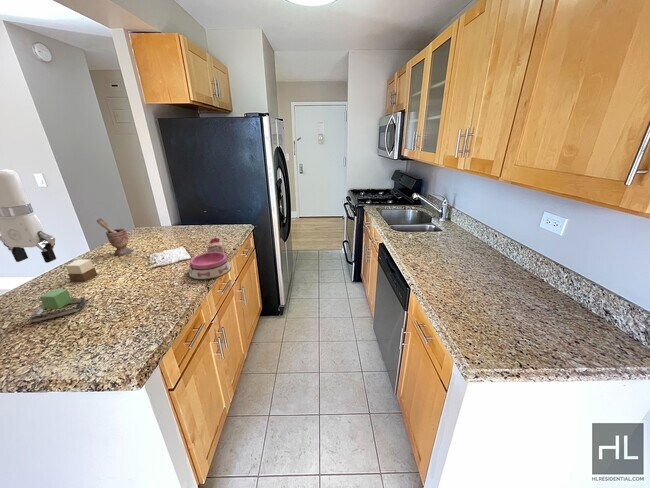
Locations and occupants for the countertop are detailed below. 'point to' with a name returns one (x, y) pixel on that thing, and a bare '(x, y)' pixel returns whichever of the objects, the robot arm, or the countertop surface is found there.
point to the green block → (55, 298)
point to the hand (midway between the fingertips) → (36, 260)
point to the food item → (216, 245)
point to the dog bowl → (209, 266)
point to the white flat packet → (169, 256)
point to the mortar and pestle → (116, 238)
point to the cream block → (79, 266)
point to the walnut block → (83, 276)
